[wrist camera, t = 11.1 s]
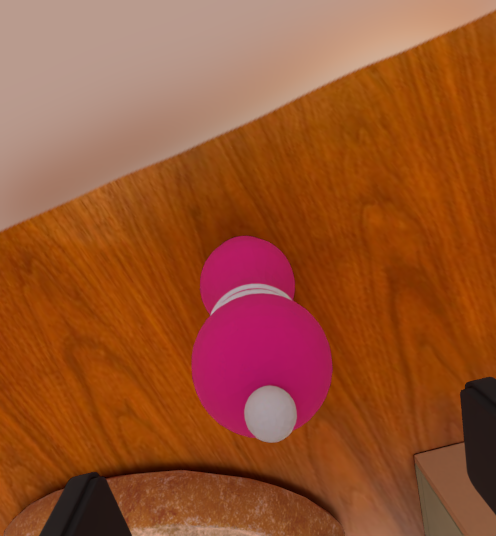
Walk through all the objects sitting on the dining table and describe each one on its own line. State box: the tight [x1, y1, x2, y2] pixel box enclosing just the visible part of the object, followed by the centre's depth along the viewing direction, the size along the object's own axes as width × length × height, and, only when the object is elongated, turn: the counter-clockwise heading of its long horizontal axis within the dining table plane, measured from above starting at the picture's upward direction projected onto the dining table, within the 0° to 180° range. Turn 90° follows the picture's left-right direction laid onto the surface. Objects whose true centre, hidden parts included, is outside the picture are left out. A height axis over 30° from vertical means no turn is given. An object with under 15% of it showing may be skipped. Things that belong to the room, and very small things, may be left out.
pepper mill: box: [192, 236, 333, 443], centre depth 20 cm, size 7×7×20 cm
